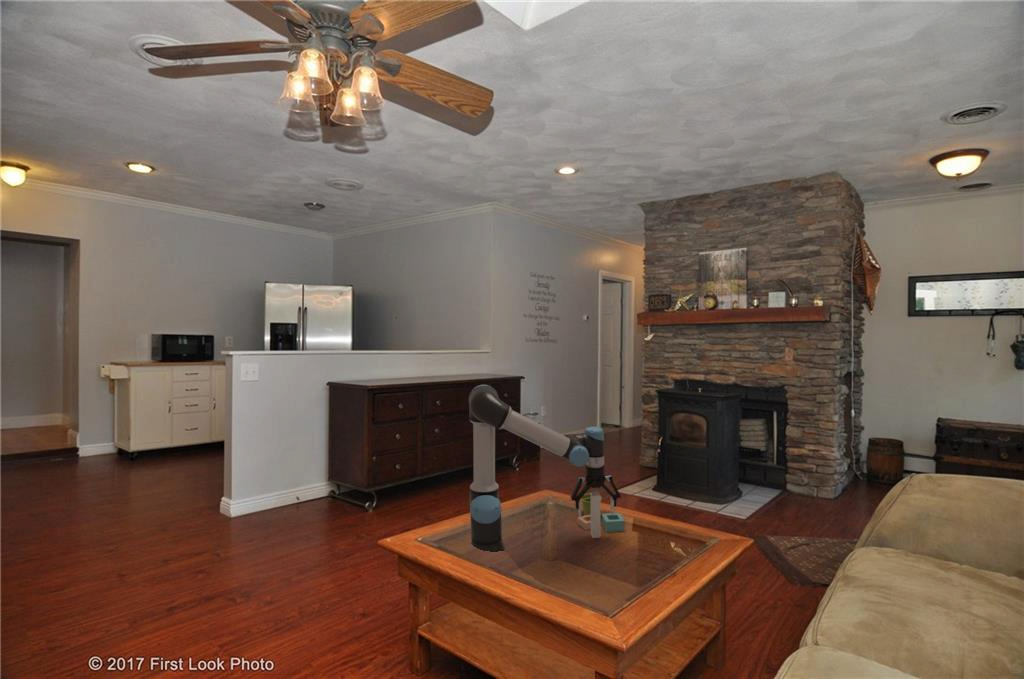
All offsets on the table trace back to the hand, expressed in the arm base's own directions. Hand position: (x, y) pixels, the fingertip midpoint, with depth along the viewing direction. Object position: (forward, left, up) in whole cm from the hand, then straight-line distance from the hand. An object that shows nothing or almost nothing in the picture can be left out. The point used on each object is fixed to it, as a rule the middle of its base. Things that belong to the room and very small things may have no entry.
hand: (596, 515), depth 229 cm
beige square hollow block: (-1, +10, -9) cm, 14 cm away
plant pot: (+2, +19, -9) cm, 21 cm away
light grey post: (0, 0, -9) cm, 9 cm away
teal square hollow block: (+9, +7, -9) cm, 14 cm away
